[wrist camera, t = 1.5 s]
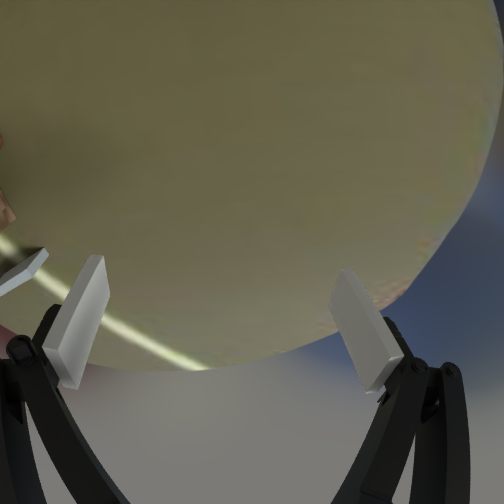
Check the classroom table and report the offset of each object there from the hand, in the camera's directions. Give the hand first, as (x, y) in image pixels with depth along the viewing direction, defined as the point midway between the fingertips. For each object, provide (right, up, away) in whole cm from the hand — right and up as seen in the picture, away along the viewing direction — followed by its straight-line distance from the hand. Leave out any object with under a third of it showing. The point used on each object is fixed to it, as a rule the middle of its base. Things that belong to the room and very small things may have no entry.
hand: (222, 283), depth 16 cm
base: (-39, -1, +25) cm, 46 cm away
